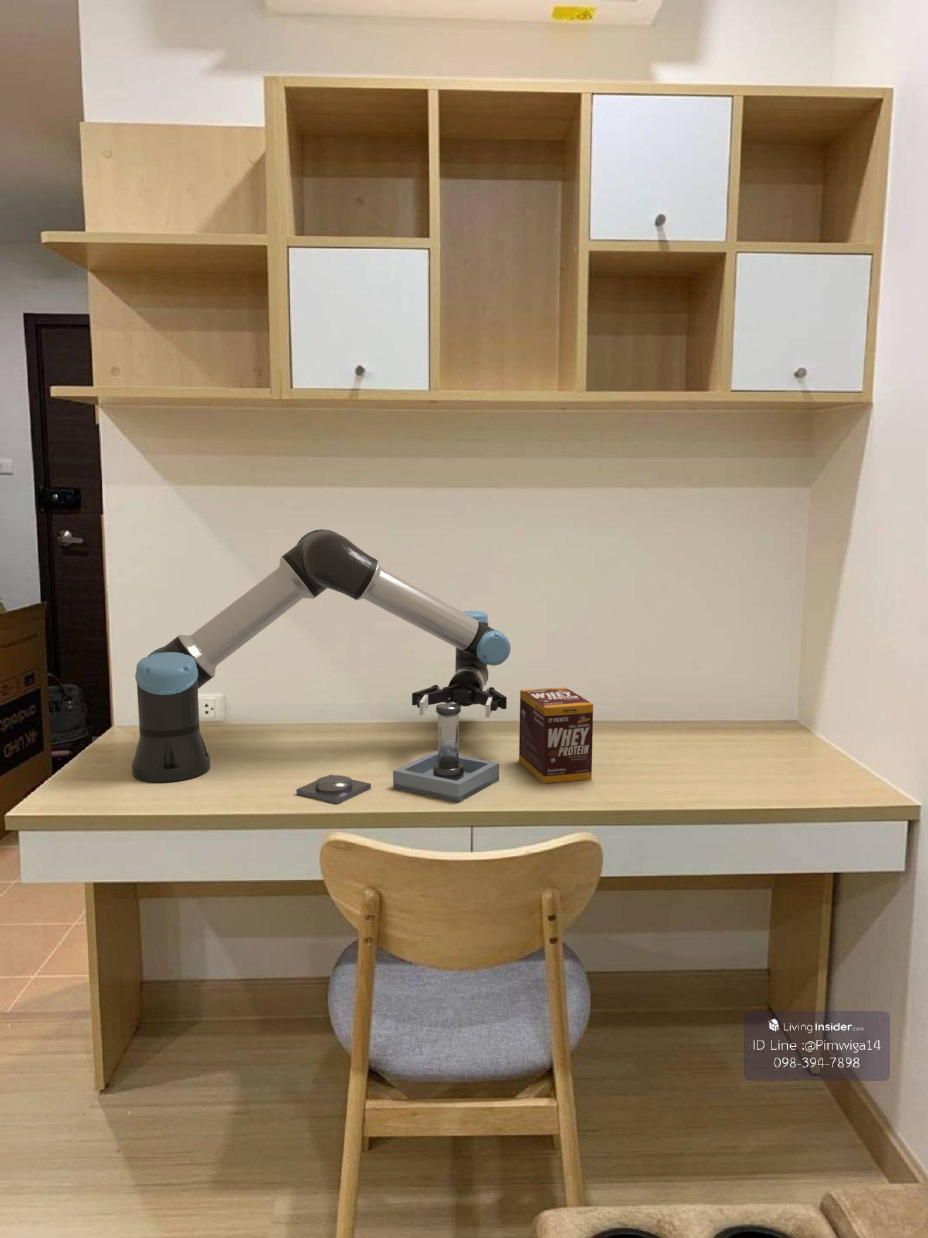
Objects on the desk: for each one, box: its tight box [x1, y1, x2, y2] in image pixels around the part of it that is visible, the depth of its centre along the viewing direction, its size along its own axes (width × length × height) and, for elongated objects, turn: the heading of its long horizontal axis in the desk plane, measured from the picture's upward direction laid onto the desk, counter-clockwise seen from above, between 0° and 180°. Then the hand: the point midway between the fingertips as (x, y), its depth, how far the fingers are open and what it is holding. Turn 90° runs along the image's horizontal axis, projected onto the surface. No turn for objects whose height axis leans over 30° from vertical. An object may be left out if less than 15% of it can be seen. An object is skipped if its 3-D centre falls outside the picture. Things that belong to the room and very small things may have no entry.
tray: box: [392, 750, 500, 803], centre depth 181 cm, size 15×15×4 cm
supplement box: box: [518, 687, 594, 785], centre depth 189 cm, size 10×15×16 cm
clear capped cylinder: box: [433, 702, 464, 781], centre depth 180 cm, size 6×6×14 cm
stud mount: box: [296, 774, 372, 805], centre depth 177 cm, size 10×10×2 cm
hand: (454, 710), depth 189 cm, fingers open, 13 cm apart
